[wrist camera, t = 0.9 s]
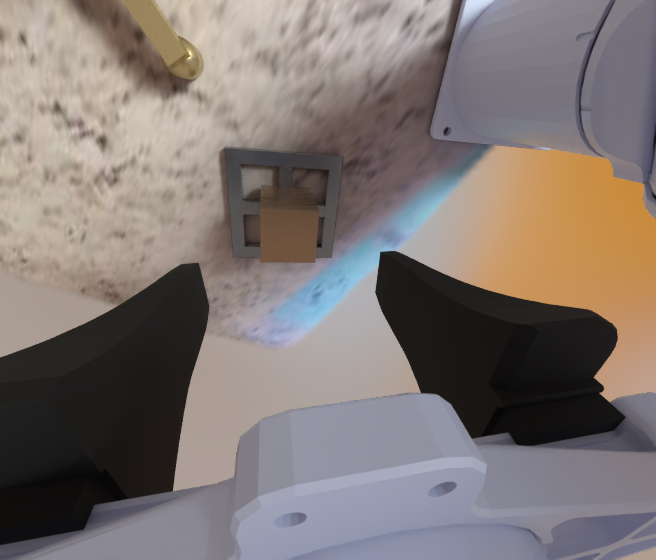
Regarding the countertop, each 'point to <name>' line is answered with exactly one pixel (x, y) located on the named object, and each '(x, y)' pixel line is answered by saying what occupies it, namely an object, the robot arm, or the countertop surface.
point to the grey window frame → (283, 206)
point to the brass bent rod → (166, 39)
